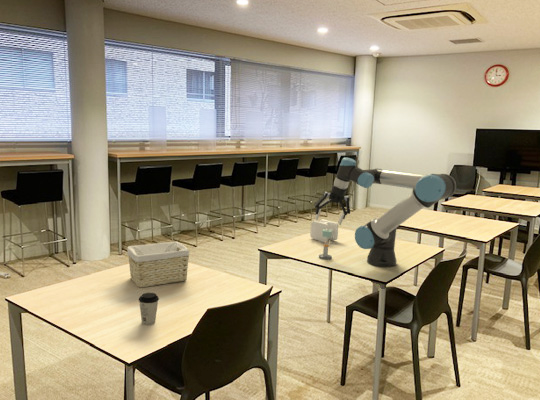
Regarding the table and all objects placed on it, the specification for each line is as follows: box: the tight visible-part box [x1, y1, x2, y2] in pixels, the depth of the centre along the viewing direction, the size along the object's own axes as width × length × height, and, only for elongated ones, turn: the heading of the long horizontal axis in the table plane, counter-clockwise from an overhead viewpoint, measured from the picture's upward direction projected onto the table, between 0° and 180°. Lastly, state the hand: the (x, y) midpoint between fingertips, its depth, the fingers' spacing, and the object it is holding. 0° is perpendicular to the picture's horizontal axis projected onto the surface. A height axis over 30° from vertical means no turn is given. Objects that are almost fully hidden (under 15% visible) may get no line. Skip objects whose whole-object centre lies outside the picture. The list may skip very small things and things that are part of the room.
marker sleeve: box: [323, 229, 331, 237], centre depth 257 cm, size 4×4×3 cm
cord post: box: [318, 229, 332, 261], centre depth 258 cm, size 7×7×16 cm
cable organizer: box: [309, 218, 339, 244], centre depth 296 cm, size 15×11×12 cm
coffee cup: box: [138, 292, 160, 326], centre depth 169 cm, size 7×7×10 cm
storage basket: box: [126, 241, 190, 288], centre depth 211 cm, size 24×16×15 cm
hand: (327, 221), depth 261 cm, fingers open, 13 cm apart
